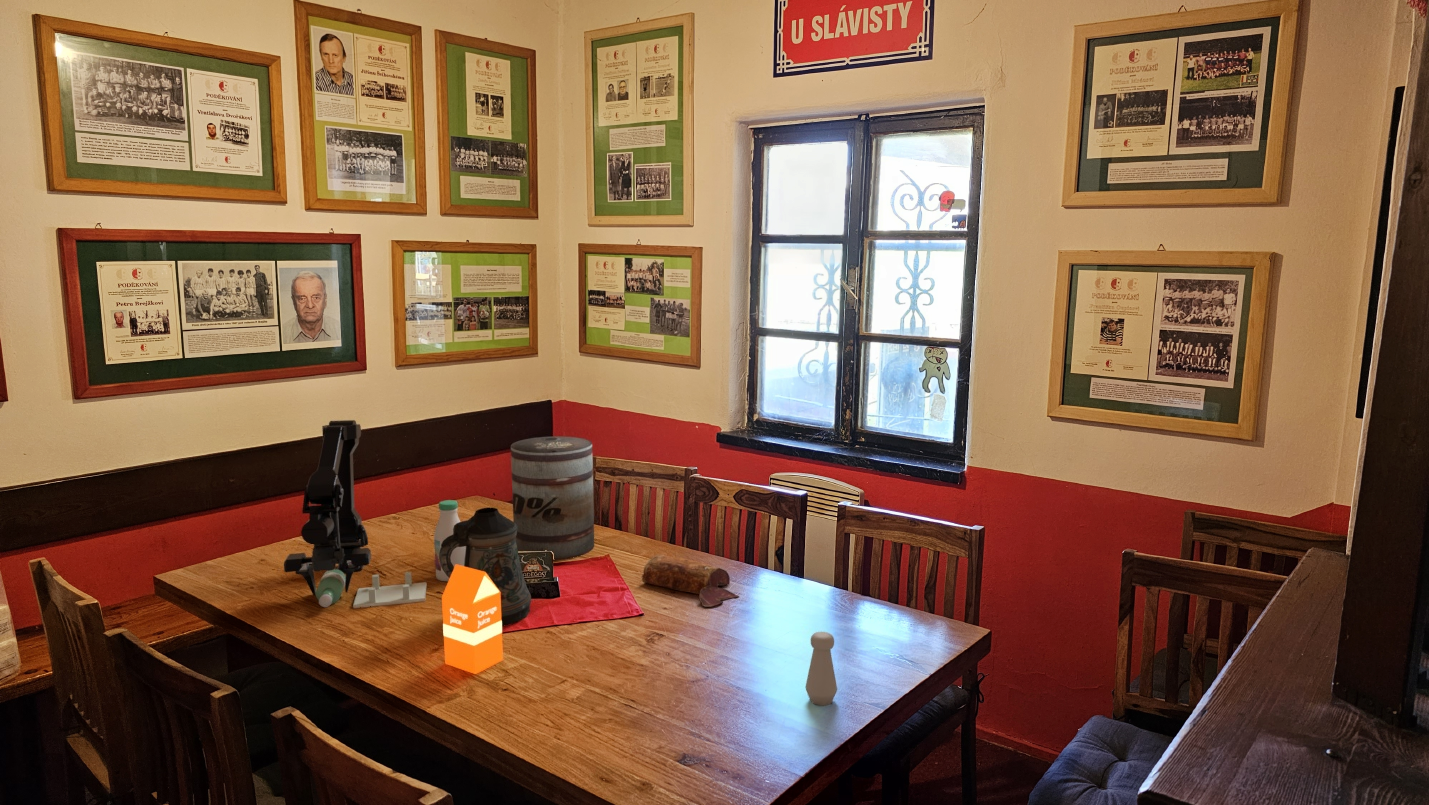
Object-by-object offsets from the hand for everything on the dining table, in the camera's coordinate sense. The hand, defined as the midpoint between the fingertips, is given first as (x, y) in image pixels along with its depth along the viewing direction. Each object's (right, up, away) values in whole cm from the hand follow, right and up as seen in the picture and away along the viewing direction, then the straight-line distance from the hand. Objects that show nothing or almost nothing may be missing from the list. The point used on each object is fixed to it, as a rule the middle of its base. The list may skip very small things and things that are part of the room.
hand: (330, 593), depth 214 cm
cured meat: (+88, -1, +6) cm, 88 cm away
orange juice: (+44, -7, -34) cm, 56 cm away
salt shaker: (+113, -9, -49) cm, 124 cm away
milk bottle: (+25, +1, +14) cm, 29 cm away
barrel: (+47, +5, +38) cm, 61 cm away
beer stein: (+42, -3, -11) cm, 43 cm away
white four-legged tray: (+14, -1, +1) cm, 14 cm away
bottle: (+1, -1, -2) cm, 3 cm away
